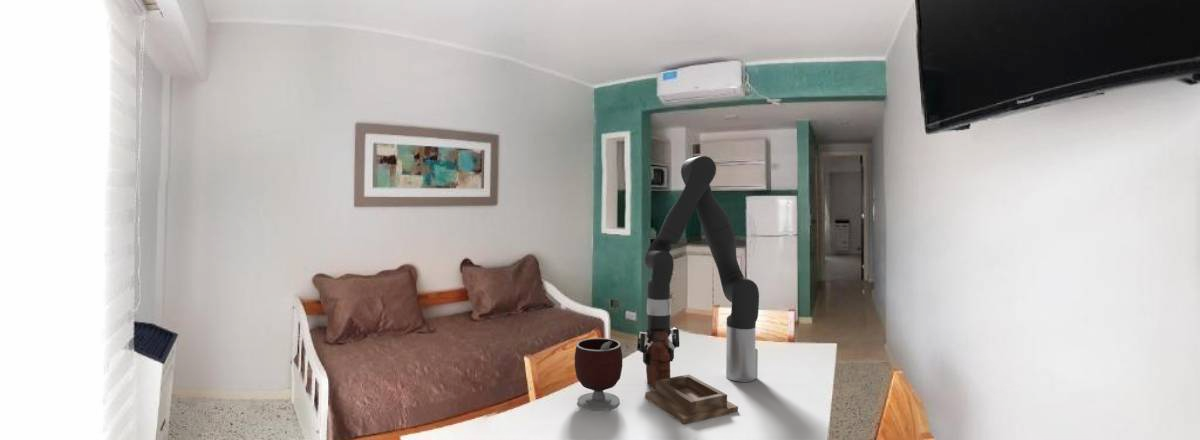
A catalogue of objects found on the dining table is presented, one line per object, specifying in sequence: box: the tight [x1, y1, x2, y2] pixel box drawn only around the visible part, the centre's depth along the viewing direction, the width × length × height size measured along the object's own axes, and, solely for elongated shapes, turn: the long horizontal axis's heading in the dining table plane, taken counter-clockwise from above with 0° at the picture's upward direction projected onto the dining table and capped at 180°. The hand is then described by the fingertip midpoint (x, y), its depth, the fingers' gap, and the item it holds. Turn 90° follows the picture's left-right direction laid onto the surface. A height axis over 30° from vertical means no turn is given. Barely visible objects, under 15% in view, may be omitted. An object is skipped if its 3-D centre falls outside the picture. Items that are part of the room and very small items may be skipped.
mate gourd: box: [574, 337, 623, 412], centre depth 145 cm, size 16×14×20 cm
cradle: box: [644, 373, 739, 425], centre depth 144 cm, size 18×20×5 cm
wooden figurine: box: [645, 330, 671, 390], centre depth 159 cm, size 12×6×18 cm, turn 17°
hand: (658, 362), depth 159 cm, fingers open, 8 cm apart
